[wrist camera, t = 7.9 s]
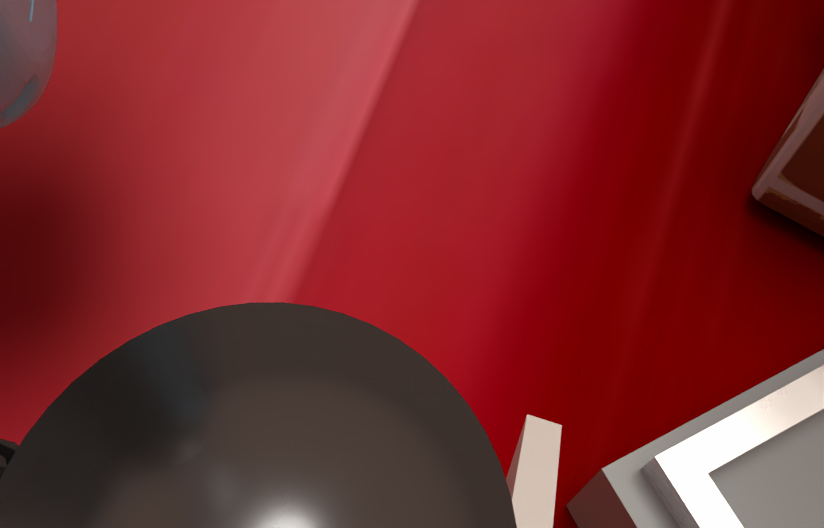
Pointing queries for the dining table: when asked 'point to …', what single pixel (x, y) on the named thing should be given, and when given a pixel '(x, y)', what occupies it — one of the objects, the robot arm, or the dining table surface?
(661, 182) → the dining table surface
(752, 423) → the square picture frame
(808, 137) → the cine camera
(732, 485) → the square shallow tray
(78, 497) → the lens
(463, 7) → the dining table surface
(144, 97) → the dining table surface
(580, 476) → the dining table surface
